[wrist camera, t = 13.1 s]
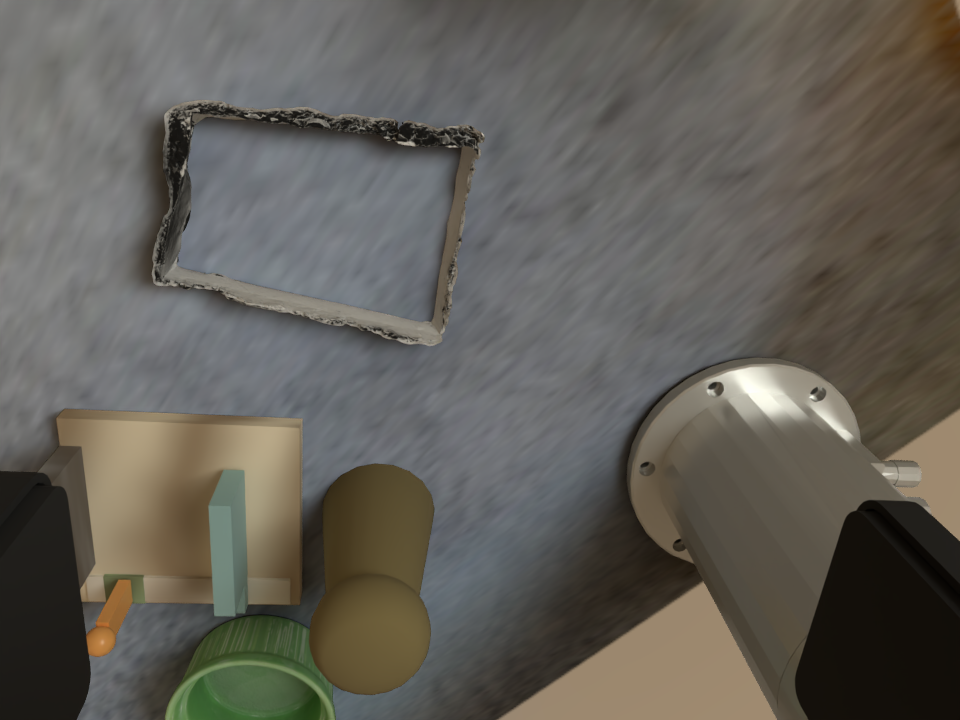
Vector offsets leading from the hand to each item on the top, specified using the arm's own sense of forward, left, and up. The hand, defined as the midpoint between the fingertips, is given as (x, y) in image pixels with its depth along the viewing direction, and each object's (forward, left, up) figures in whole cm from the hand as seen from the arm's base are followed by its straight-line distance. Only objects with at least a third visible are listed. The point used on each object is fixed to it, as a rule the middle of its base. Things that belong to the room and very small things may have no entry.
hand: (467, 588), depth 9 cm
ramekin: (+8, +29, -29) cm, 41 cm away
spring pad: (+9, +19, -27) cm, 34 cm away
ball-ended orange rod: (+14, +22, -27) cm, 38 cm away
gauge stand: (+11, +18, -28) cm, 35 cm away
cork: (+1, +18, -28) cm, 34 cm away
